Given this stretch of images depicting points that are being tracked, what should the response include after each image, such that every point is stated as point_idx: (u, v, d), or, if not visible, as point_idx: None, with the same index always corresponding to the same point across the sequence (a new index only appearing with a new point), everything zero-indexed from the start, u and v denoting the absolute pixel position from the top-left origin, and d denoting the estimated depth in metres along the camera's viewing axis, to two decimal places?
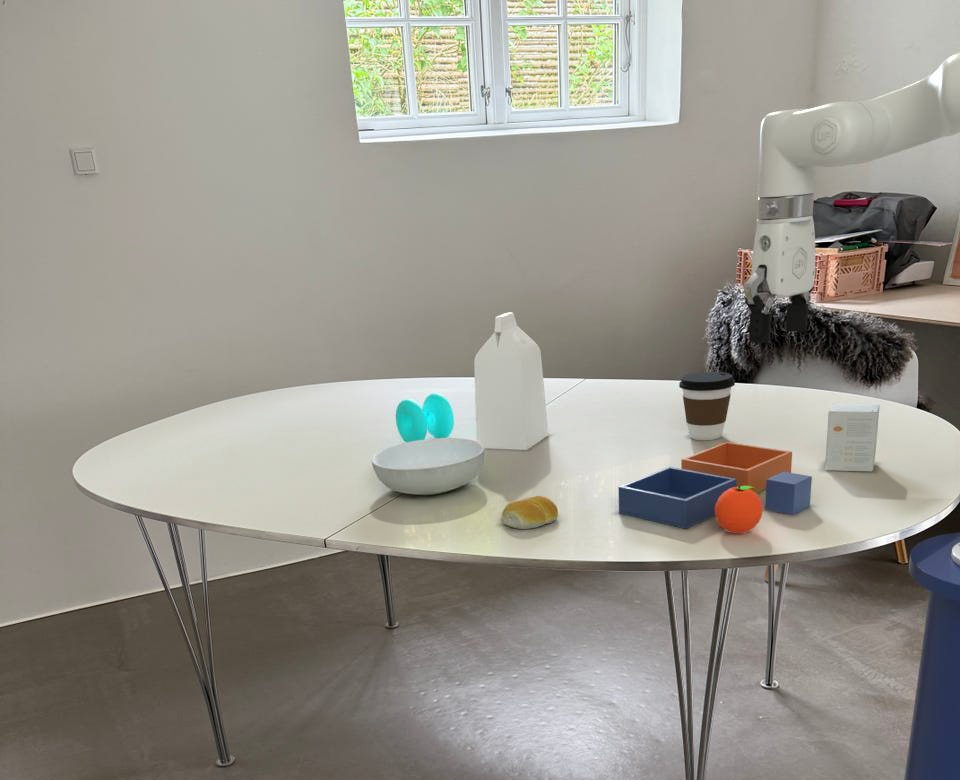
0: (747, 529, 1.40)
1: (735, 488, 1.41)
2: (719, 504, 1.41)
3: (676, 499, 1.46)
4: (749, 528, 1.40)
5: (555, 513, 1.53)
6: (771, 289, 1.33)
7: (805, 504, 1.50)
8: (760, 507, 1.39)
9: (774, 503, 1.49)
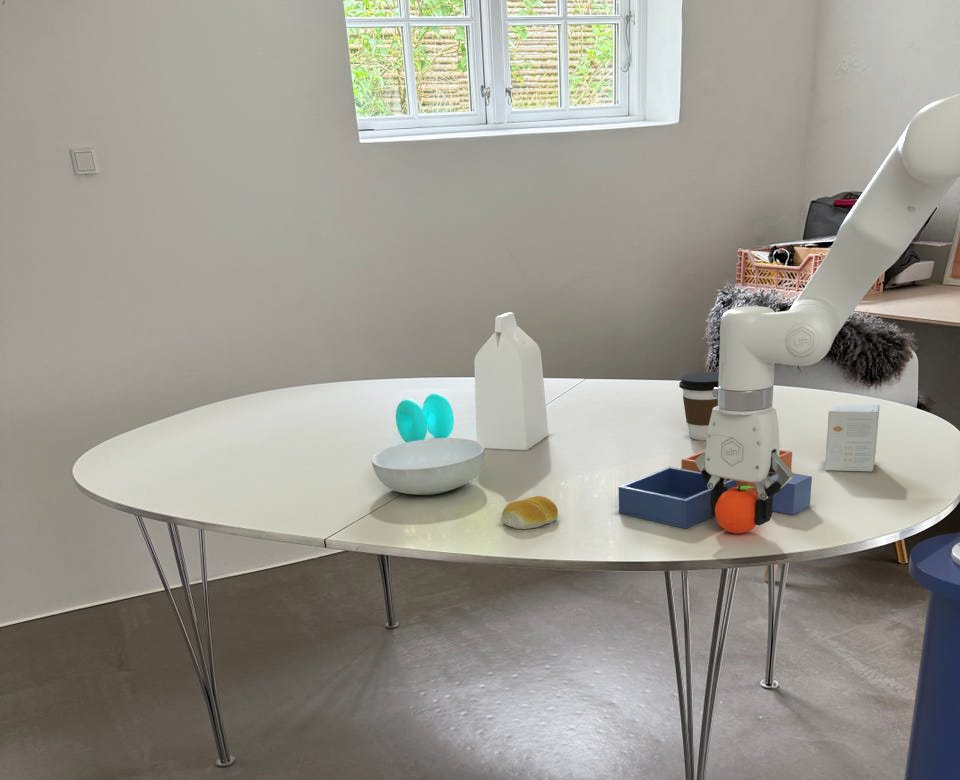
0: (747, 529, 1.40)
1: (735, 488, 1.41)
2: (719, 504, 1.41)
3: (676, 499, 1.46)
4: (749, 528, 1.40)
5: (555, 513, 1.53)
6: None
7: (805, 504, 1.50)
8: None
9: (774, 503, 1.49)
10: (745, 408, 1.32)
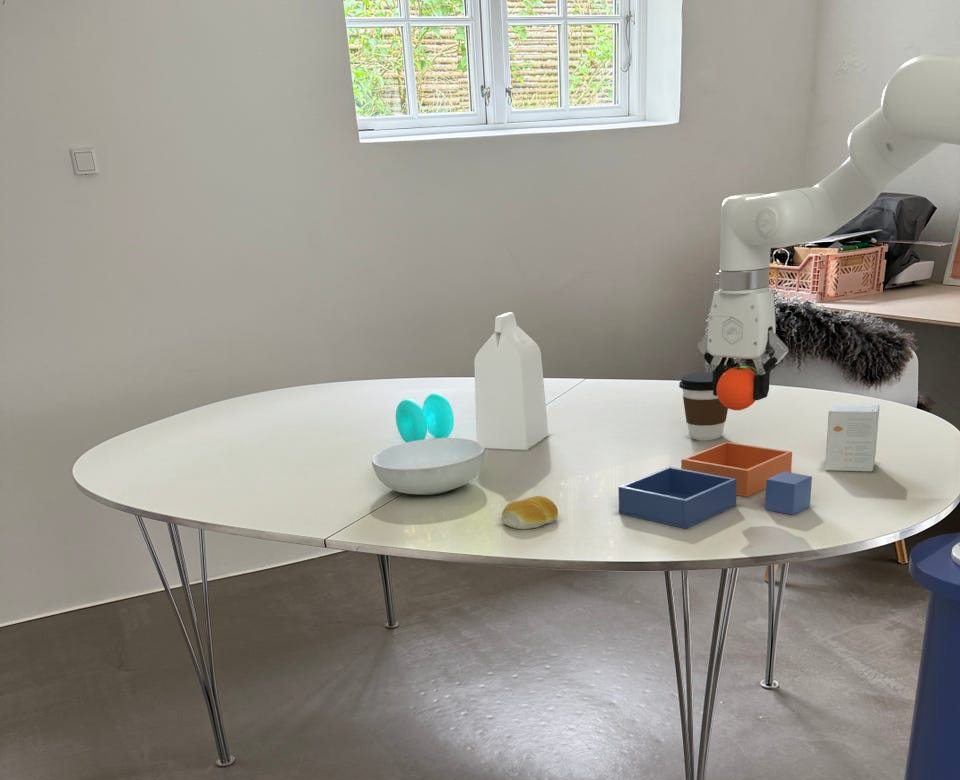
0: (746, 405, 1.53)
1: (735, 368, 1.54)
2: (720, 382, 1.53)
3: (676, 499, 1.46)
4: (748, 404, 1.53)
5: (555, 513, 1.53)
6: None
7: (805, 504, 1.50)
8: None
9: (774, 503, 1.49)
10: (744, 287, 1.45)
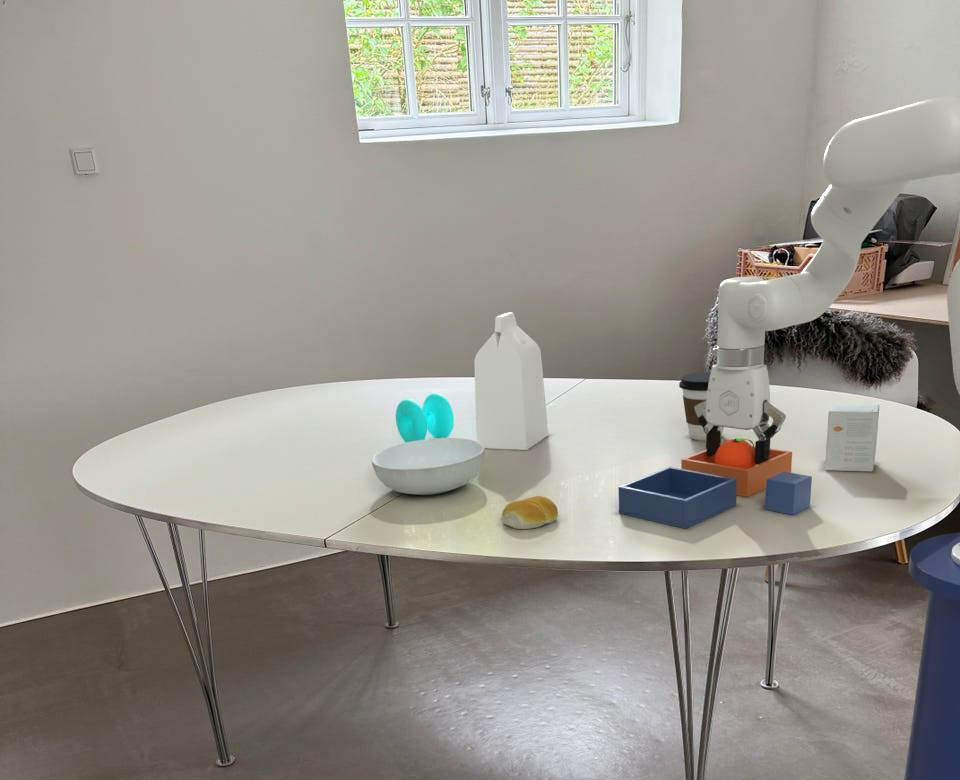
0: None
1: (732, 440, 1.63)
2: (718, 454, 1.63)
3: (676, 499, 1.46)
4: None
5: (555, 513, 1.53)
6: None
7: (805, 504, 1.50)
8: (753, 456, 1.62)
9: (774, 503, 1.49)
10: (740, 364, 1.54)
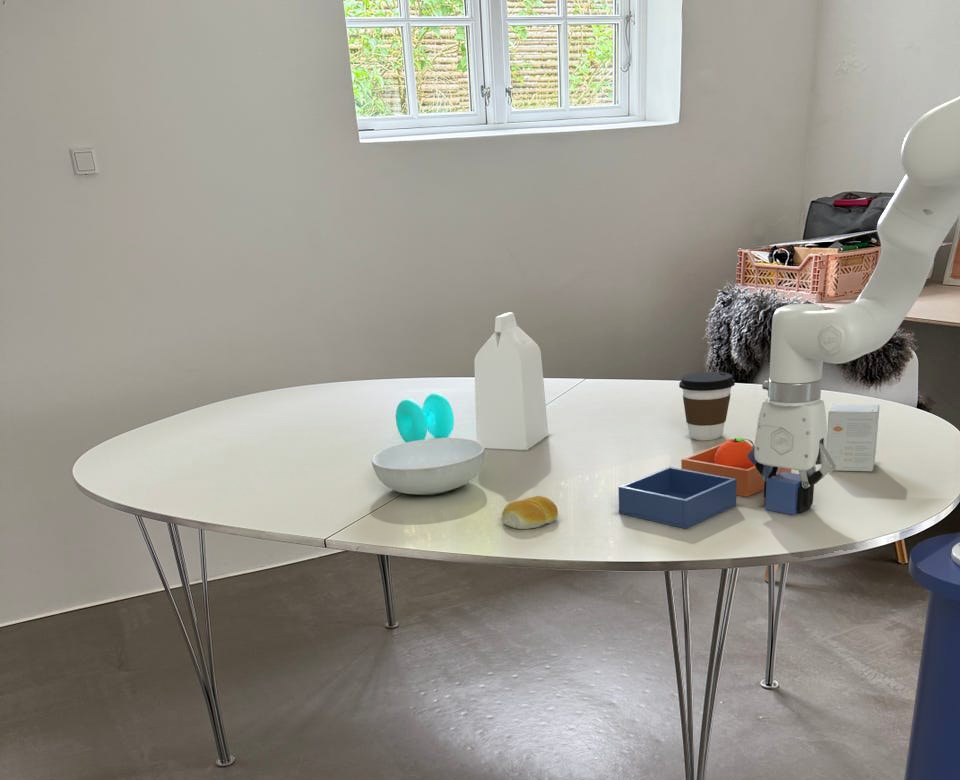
0: None
1: (732, 440, 1.63)
2: (718, 454, 1.63)
3: (676, 499, 1.46)
4: None
5: (555, 513, 1.53)
6: None
7: None
8: None
9: (774, 503, 1.49)
10: (795, 400, 1.40)
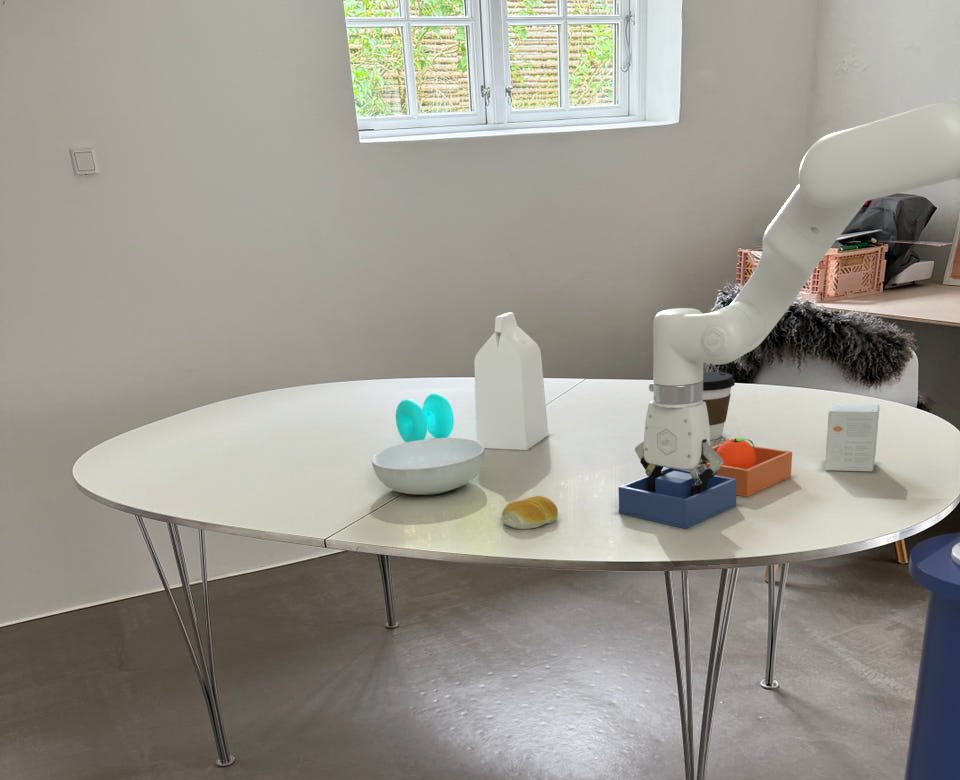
0: None
1: (732, 440, 1.63)
2: (718, 454, 1.63)
3: (676, 499, 1.46)
4: None
5: (555, 513, 1.53)
6: None
7: None
8: (753, 456, 1.62)
9: None
10: (676, 401, 1.44)
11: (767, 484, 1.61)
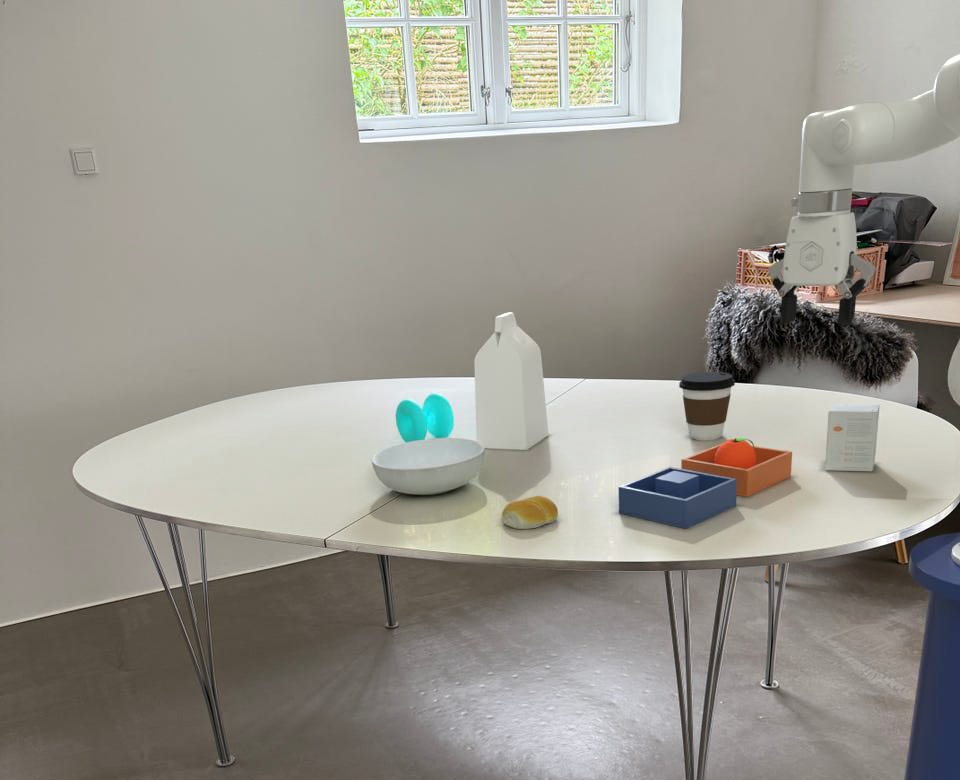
0: None
1: (732, 440, 1.63)
2: (718, 454, 1.63)
3: (676, 499, 1.46)
4: None
5: (555, 513, 1.53)
6: None
7: None
8: (753, 456, 1.62)
9: None
10: (826, 209, 1.39)
11: (767, 484, 1.61)
